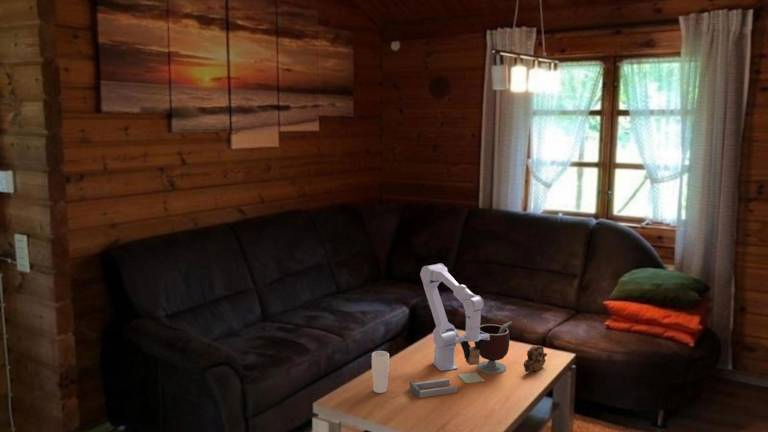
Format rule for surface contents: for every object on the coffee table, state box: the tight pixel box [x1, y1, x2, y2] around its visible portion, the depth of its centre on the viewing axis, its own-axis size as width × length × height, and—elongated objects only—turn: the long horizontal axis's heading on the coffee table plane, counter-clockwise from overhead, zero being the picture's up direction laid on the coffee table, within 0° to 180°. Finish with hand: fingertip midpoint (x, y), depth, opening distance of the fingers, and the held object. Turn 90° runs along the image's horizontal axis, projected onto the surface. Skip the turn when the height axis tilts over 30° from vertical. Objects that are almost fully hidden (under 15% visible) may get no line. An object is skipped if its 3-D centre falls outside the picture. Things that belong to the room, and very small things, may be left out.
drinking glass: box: [371, 350, 390, 394], centre depth 243 cm, size 7×7×15 cm
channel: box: [409, 378, 458, 399], centre depth 245 cm, size 8×16×3 cm, turn 109°
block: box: [465, 346, 480, 366], centre depth 254 cm, size 4×4×6 cm
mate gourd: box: [476, 321, 513, 375], centre depth 266 cm, size 16×14×20 cm
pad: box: [457, 372, 485, 384], centre depth 257 cm, size 8×8×1 cm
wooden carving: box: [522, 345, 548, 373], centre depth 266 cm, size 16×5×10 cm, turn 143°
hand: (471, 358), depth 255 cm, fingers closed on block, 4 cm apart
